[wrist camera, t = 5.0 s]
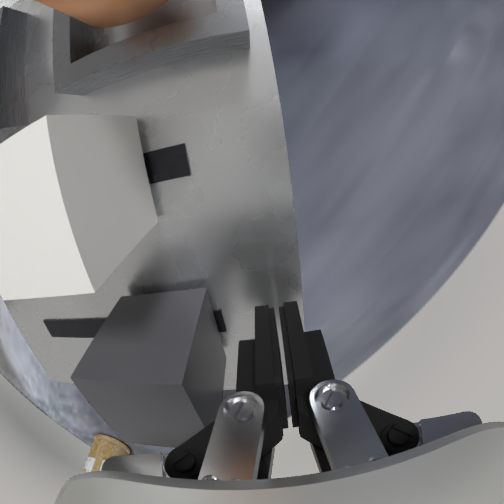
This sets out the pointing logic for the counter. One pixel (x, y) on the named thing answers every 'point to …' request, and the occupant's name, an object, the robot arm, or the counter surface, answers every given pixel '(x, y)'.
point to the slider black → (156, 367)
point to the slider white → (70, 204)
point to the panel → (167, 160)
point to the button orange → (105, 10)
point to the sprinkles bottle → (103, 452)
